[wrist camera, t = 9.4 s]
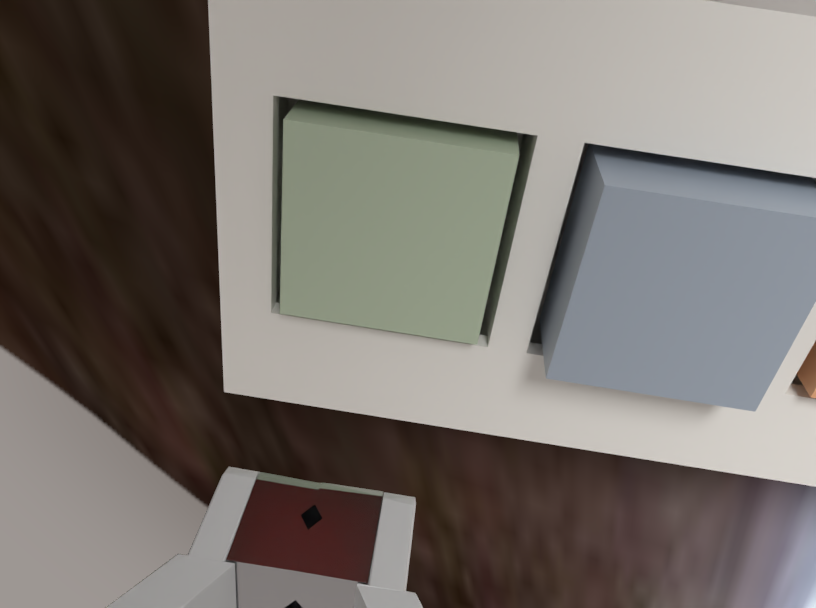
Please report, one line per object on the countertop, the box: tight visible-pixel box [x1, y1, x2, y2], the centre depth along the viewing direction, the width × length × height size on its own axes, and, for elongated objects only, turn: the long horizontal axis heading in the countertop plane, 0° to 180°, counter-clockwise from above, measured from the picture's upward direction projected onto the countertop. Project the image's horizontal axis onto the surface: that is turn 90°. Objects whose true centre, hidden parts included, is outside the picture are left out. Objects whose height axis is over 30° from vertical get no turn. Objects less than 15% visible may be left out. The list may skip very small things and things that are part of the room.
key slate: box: [540, 144, 816, 412], centre depth 19 cm, size 6×6×3 cm
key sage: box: [280, 99, 519, 345], centre depth 20 cm, size 6×6×3 cm
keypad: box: [208, 0, 816, 487], centre depth 21 cm, size 14×26×4 cm, turn 83°
